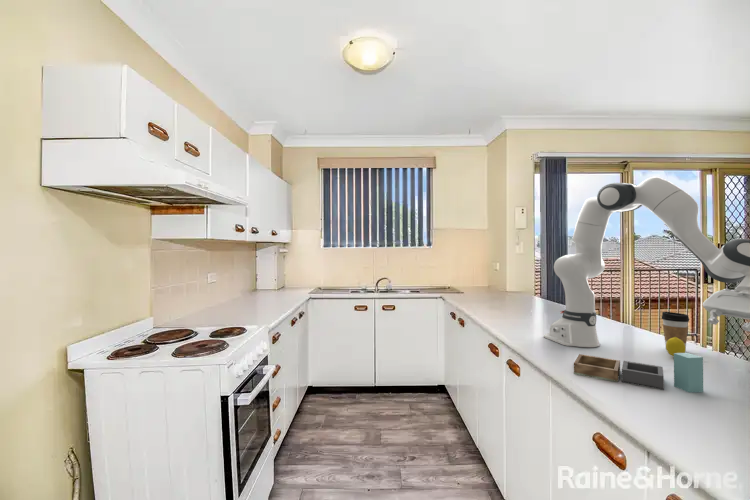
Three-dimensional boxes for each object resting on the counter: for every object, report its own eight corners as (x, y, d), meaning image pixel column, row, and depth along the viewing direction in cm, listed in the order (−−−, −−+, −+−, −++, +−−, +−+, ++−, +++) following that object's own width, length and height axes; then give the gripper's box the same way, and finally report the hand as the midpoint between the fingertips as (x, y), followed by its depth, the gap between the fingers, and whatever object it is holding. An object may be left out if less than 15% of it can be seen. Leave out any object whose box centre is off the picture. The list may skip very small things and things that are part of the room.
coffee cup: (660, 346, 143) (660, 310, 143) (687, 349, 138) (687, 312, 138) (663, 351, 136) (662, 313, 136) (691, 354, 131) (691, 315, 131)
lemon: (689, 360, 124) (689, 339, 124) (672, 360, 126) (671, 338, 126) (679, 356, 130) (679, 335, 130) (662, 355, 131) (662, 334, 131)
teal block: (674, 386, 103) (673, 353, 103) (688, 385, 103) (687, 352, 103) (688, 392, 98) (688, 358, 98) (703, 391, 99) (703, 357, 99)
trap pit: (621, 381, 107) (621, 369, 107) (623, 372, 114) (623, 360, 114) (663, 389, 100) (663, 376, 100) (662, 379, 108) (662, 366, 108)
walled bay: (573, 373, 114) (573, 363, 114) (579, 363, 123) (579, 354, 123) (617, 382, 106) (617, 370, 106) (620, 371, 116) (620, 360, 116)
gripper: (714, 282, 112) (686, 312, 111) (793, 288, 92) (760, 326, 91) (727, 295, 112) (699, 325, 112) (809, 304, 92) (776, 342, 91)
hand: (727, 326), depth 101 cm, fingers open, 8 cm apart
